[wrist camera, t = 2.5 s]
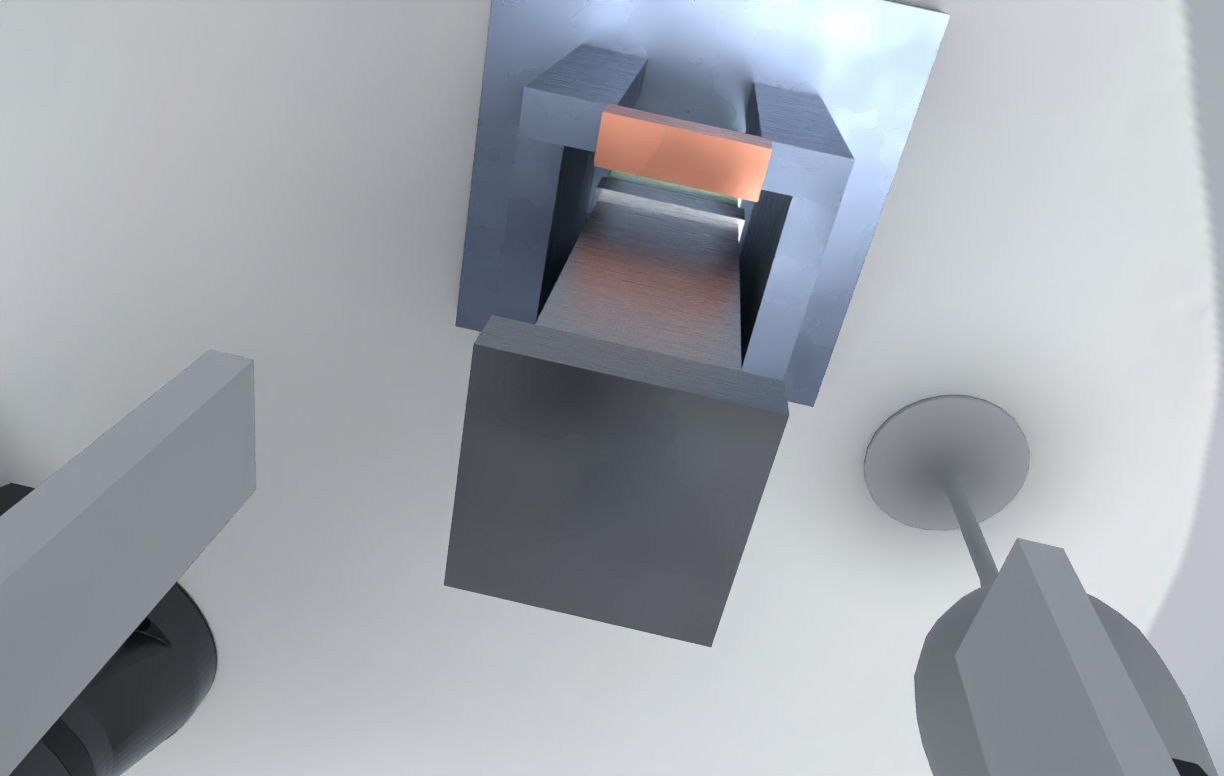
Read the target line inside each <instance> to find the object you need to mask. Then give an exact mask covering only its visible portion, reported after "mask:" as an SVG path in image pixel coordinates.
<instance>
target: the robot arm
mask: <svg viewBox="0 0 1224 776" xmlns="http://www.w3.org/2000/svg"><path fill="white" fill-rule="evenodd" d="M255 490H256V469H255V411H254V360H252V359H248V358H244V357H240V356H235V355H231V354H227V353H222V352H218V351H214V350H209V351H208V352H207V353H205V354H204V355H203V356H202V357H200V358H199V359H198V360H197V361H195V362H194V363H193V364H191V365H190V366H189V367H188V368H186V369H185V370H184V371H183V372H181V373H180V374H179V375H178V376H176V377H175V378H174V379H173V380H171V381H170V382H169V383H168V384H166V385H165V386H164V387H163V388H161V389H160V390H159V391H158V392H156V393H155V394H154V395H152V396H151V397H150V398H149V399H147V400H146V401H145V402H144V403H142V404H141V405H140V406H139V407H137V408H136V409H135V410H134V411H132V412H131V413H130V414H129V415H127V416H126V417H125V418H124V419H122V420H121V421H120V422H119V423H117V424H116V425H115V426H113V427H112V428H111V429H110V430H108V431H107V432H106V433H105V434H103V435H102V436H101V437H100V438H98V439H97V440H96V441H95V442H93V443H92V444H91V445H90V446H88V447H87V448H86V449H85V450H83V451H82V452H81V453H80V454H78V455H77V456H76V457H74V458H73V459H72V460H71V461H69V462H68V463H67V464H66V465H64V466H63V467H62V468H61V469H59V470H58V471H57V472H56V473H54V474H53V475H52V476H51V477H49V478H48V479H47V480H46V481H44V482H43V483H42V484H41V485H39V486H38V487H37V488H31V487H26V486H22V485H18V484H14V483H10V484H8V485H5V486H3V487H0V776H119V775H121V774H122V773H123V772H125V771H126V770H127V769H129V768H130V767H131V766H133V765H134V764H135V763H137V762H138V761H139V760H140V759H142V758H143V757H144V756H146V755H147V754H148V753H149V752H151V751H152V750H153V749H154V748H156V747H157V746H158V745H159V744H160V743H162V742H163V741H164V740H166V739H168V738H169V737H170V736H172V735H173V734H174V733H176V732H177V731H178V730H179V729H180V728H181V727H182V726H183V725H184V724H185V723H186V722H187V721H188V719H189V718H190V717H191V716H192V714H193V713H194V711H195V710H196V708H197V707H198V705H199V704H200V703H201V701H202V700H203V698H204V697H205V695H206V694H207V692H208V691H209V689H210V687H211V685H212V682H213V680H214V676H215V670H216V655H215V649H214V644H213V641H212V638H211V635H210V632H209V630H208V628H207V626H206V624H205V622H204V620H203V618H202V617H201V615H200V614H199V612H198V610H197V609H196V608H195V606H194V605H193V604H192V602H191V601H190V600H189V599H188V597H187V596H186V595H185V594H184V593H183V592H182V591H181V590H180V589H179V588H178V587H177V586H176V585H175V583H176V582H177V580H178V579H179V578H180V577H181V576H182V575H183V574H184V572H185V571H186V570H187V569H188V568H189V567H190V565H191V564H192V563H193V562H194V561H195V560H196V558H197V557H198V556H199V555H200V554H201V553H202V552H203V550H204V549H205V548H206V547H207V546H208V545H209V543H210V542H211V541H212V540H213V539H214V538H215V536H216V535H217V534H218V533H219V532H220V531H221V530H222V528H223V527H224V526H225V525H226V524H227V523H228V521H229V520H230V519H231V518H232V517H233V516H234V514H235V513H236V512H237V511H238V510H239V509H240V508H241V506H242V505H243V504H244V503H245V502H246V501H247V499H248V498H249V497H250V496H251V495H252V494H253V492H254V491H255ZM955 658H956V662H957V665H958V669H959V672H960V675H961V679H962V682H963V686H964V689H965V693H966V696H967V699H968V703H969V706H970V710H971V713H972V717H973V720H974V723H975V727H976V730H977V734H978V737H979V741H980V744H981V747H982V751H983V754H984V758H985V761H986V765H987V768H988V771H989V775H990V776H1208V775H1207V774H1206V773H1205V771H1204V770H1203V769H1202V768H1201V767H1200V766H1199V765H1198V764H1196V763H1191V762H1187V761H1183V760H1179V759H1175V758H1171V757H1170V755H1169V753H1168V751H1167V749H1166V747H1165V745H1164V743H1163V741H1162V739H1161V737H1160V735H1159V733H1158V731H1157V730H1156V728H1155V726H1154V724H1153V722H1152V720H1151V718H1150V716H1149V714H1148V712H1147V710H1146V708H1145V706H1144V704H1143V702H1142V700H1141V699H1140V697H1139V695H1138V693H1137V691H1136V689H1135V687H1134V685H1133V683H1132V681H1131V679H1130V677H1129V675H1128V673H1127V671H1126V669H1125V668H1124V666H1123V664H1122V662H1121V660H1120V658H1119V656H1118V654H1117V652H1116V650H1115V648H1114V646H1113V644H1112V642H1111V640H1110V638H1109V637H1108V635H1107V633H1106V631H1105V629H1104V627H1103V625H1102V623H1101V621H1100V619H1099V617H1098V615H1097V613H1096V611H1095V609H1094V607H1093V606H1092V604H1091V602H1090V600H1089V598H1088V596H1087V594H1086V592H1085V590H1084V588H1083V586H1082V584H1081V582H1080V580H1079V578H1078V576H1077V575H1076V573H1075V571H1074V569H1073V567H1072V565H1071V563H1070V561H1069V559H1068V557H1067V555H1066V553H1065V551H1064V549H1063V548H1059V547H1054V546H1050V545H1046V544H1041V543H1037V542H1033V541H1029V540H1024V539H1020V538H1017V540H1016V541H1015V543H1014V545H1013V547H1012V549H1011V551H1010V553H1009V555H1008V556H1007V558H1006V560H1005V562H1004V564H1003V566H1002V568H1001V570H1000V571H999V573H998V575H997V577H996V579H995V581H994V583H993V585H992V587H991V588H990V590H989V592H988V594H987V596H986V598H985V600H984V602H983V603H982V605H981V607H980V609H979V611H978V613H977V615H976V617H975V618H974V620H973V622H972V624H971V626H970V628H969V630H968V632H967V633H966V635H965V637H964V639H963V641H962V643H961V645H960V647H959V648H958V650H957V652H956V654H955Z"/></svg>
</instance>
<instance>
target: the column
mask: <svg viewBox="0 0 1224 776" xmlns="http://www.w3.org/2000/svg"><path fill="white" fill-rule="evenodd" d="M741 200H742V199H741V198H736V197H732V196H727V195H723V194H718V193H714V192H709V191H705V190H700V189H696V188H691V187H687V186H682V185H678V184H673V183H669V182H664V181H660V180H655V179H651V178H646V177H642V176H637V175H633V174H628V173H624V172H619V171H615V170H610V169H608V174H607V178H606V177H602V178H601V180H600V182H599V184H598V185H597V188H596V193H595V199H594V204H593V210H592V212H591V214H590V216H589V218H588V220H587V222H586V224H585V226H584V228H583V230H582V232H581V234H580V236H579V238H578V240H577V242H576V244H575V246H574V248H573V250H572V252H571V254H570V256H569V258H568V260H567V262H566V264H565V266H564V268H563V270H562V272H561V274H560V276H559V278H558V280H557V282H556V284H555V286H554V288H553V290H552V292H551V294H550V296H549V298H548V300H547V302H546V304H545V306H544V308H543V310H542V312H541V314H540V316H539V318H538V320H537V322H536V324H535V325H534V324H530V323H526V322H521V321H517V320H512V319H508V318H503V317H499V316H495V315H492V316H491V317H490V319H489V320H488V322H487V324H486V325H485V327H484V328H483V330H482V332H481V333H480V335H479V336H478V338H477V340H476V341H475V343H474V346H473V355H472V363H471V371H470V379H469V387H468V395H467V403H466V411H465V419H464V427H463V435H462V443H461V451H460V459H459V467H458V476H457V484H456V492H455V500H454V508H453V516H452V524H451V532H450V540H449V548H448V556H447V564H446V572H445V580H444V585H446V586H450V587H454V588H458V589H463V590H467V591H471V592H476V593H480V594H484V595H489V596H493V597H497V598H502V599H506V600H510V601H514V602H519V603H523V604H527V605H532V606H536V607H540V608H545V609H549V610H553V611H557V612H562V613H566V614H570V615H575V616H579V617H583V618H588V619H592V620H596V621H601V622H605V623H609V624H613V625H618V626H622V627H626V628H631V629H635V630H639V631H644V632H648V633H652V634H657V635H661V636H665V637H669V638H674V639H678V640H682V641H687V642H691V643H695V644H700V645H704V646H708V647H711V646H712V643H713V640H714V637H715V634H716V631H717V628H718V625H719V622H720V619H721V616H722V613H723V610H724V607H725V604H726V601H727V598H728V595H729V592H730V589H731V586H732V583H733V580H734V577H735V574H736V572H737V569H738V566H739V563H740V560H741V557H742V554H743V551H744V548H745V545H746V542H747V539H748V536H749V533H750V530H751V527H752V524H753V521H754V518H755V515H756V512H757V509H758V506H759V503H760V500H761V497H762V494H763V491H764V488H765V485H766V482H767V479H768V476H769V473H770V470H771V467H772V464H773V461H774V458H775V456H776V453H777V450H778V447H779V444H780V441H781V438H782V435H783V432H784V429H785V426H786V423H787V420H788V417H789V411H788V402H787V394H786V385H785V381H782V380H778V379H773V378H769V377H764V376H760V375H756V374H751V373H747V372H742V371H741V327H740V279H739V240H740V236H741V233H742V229H743V225H744V222H745V211H744V208H741V207H740V204H741Z"/></svg>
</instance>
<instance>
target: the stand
mask: <svg viewBox="0 0 1224 776" xmlns="http://www.w3.org/2000/svg"><path fill="white" fill-rule="evenodd" d="M949 18H950V15H949V14H946V13H944V12H941V11H936V10H931V9H927V8H922V7H918V6H913V5H908V4H904V3H899V2H895V1H890V0H492V2H491V11H490V20H489V29H488V38H487V47H486V56H485V65H484V74H483V83H482V92H481V101H480V110H479V119H478V128H477V137H476V146H475V155H474V164H473V173H472V182H471V191H470V200H469V209H468V218H467V227H466V236H465V245H464V254H463V263H462V272H461V281H460V290H459V299H458V308H457V317H456V326H458V327H463V328H467V329H471V330H476V331H480V332H482V330H483V328H484V327H485V325H486V324H487V322H488V320H489V319H490V317H491V316H492V315H495V316H499V317H503V318H508V319H512V320H517V321H521V322H526V323H530V324H534V325H535V324H536V322H537V320H538V318H539V316H540V314H541V312H542V310H543V308H544V306H545V304H546V302H547V300H548V298H549V296H550V294H551V292H552V290H553V288H554V286H555V284H556V282H557V280H558V278H559V276H560V274H561V272H562V270H563V268H564V266H565V264H566V262H567V260H568V258H569V256H570V254H571V252H572V250H573V248H574V246H575V244H576V242H577V240H578V238H579V236H580V234H581V232H582V230H583V228H584V226H585V224H586V222H587V220H588V218H589V216H590V214H591V212H592V210H593V204H594V199H595V193H596V188H597V185H598V184H599V182H600V180H601V178H602V177H606V178H607V174H608V169H610V170H615V171H619V172H624V173H628V174H633V175H637V176H642V177H646V178H651V179H655V180H660V181H664V182H669V183H673V184H678V185H682V186H687V187H691V188H696V189H700V190H705V191H709V192H714V193H718V194H723V195H727V196H732V197H736V198H741V199H742V200H741V204H740V207H741V208H744V211H745V222H744V225H743V229H742V233H741V236H740V240H739V279H740V327H741V371H742V372H747V373H751V374H756V375H760V376H764V377H769V378H773V379H778V380H782V381H785V385H786V394H787V401H789V402H794V403H798V404H803V405H807V406H811V407H813V406H814V403H815V400H816V397H817V395H818V392H819V389H820V386H821V383H822V380H823V377H824V375H825V372H826V369H827V366H828V363H829V360H830V358H831V355H832V352H833V349H834V346H835V343H836V340H837V338H838V335H839V332H840V329H841V326H842V323H843V320H844V318H845V315H846V312H847V309H848V306H849V303H850V300H851V298H852V295H853V292H854V289H855V286H856V283H857V280H858V278H859V275H860V272H861V269H862V266H863V263H864V260H865V258H866V255H867V252H868V249H869V246H870V243H871V240H872V238H873V235H874V232H875V229H876V226H877V223H878V220H879V218H880V215H881V212H882V209H883V206H884V203H885V200H886V198H887V195H888V192H889V189H890V186H891V183H892V180H893V178H894V175H895V172H896V169H897V166H898V163H899V160H900V158H901V155H902V152H903V149H904V146H905V143H906V140H907V138H908V135H909V132H910V129H911V126H912V123H913V120H914V118H915V115H916V112H917V109H918V106H919V103H920V100H921V98H922V95H923V92H924V89H925V86H926V83H927V80H928V78H929V75H930V72H931V69H932V66H933V63H934V60H935V58H936V55H937V52H938V49H939V46H940V43H941V40H942V38H943V35H944V32H945V29H946V26H947V23H948V20H949Z"/></svg>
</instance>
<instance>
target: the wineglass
mask: <svg viewBox="0 0 1224 776" xmlns="http://www.w3.org/2000/svg"><path fill="white" fill-rule="evenodd" d="M1028 469H1029V449H1028V445H1027V441H1026V438H1025V435H1024V434H1023V432H1022V431H1021V429H1020V428H1019V426H1018V424H1017V423H1016V421H1015V420H1014V419H1013V418H1012V417H1011V416H1010V415H1008V414H1007V413H1006V412H1005V411H1004V410H1002V409H1001V408H1000V407H997V406H995V405H993V404H991V403H989V402H987V401H985V400H982V399H977V398H973V397H968V396H939V397H934V398H929V399H924V400H921V401H919V402H917V403H914V404H912V405H909V406H907V407H905V408H903V409H902V410H900V411H899V412H897V413H896V414H894V415H893V416H891V417H890V418H889V419H888V420H887V421H886V422H885V423H884V424H883V425H882V426H881V427H880V428H879V429H878V430H877V432H876V433H875V435H874V437H873V439H872V440H871V442H870V444H869V446H868V448H867V453H866V457H865V461H864V470H865V480H866V483H867V486H868V489H869V492H870V494H871V496H872V498H873V499H874V500H875V502H876V503H877V504H878V506H879V507H880V508H881V509H882V510H883V511H885V512H886V513H887V514H888V515H890V516H891V517H892V518H893V519H895V520H898V521H900V522H902V523H904V524H906V525H908V526H912V527H916V528H921V529H925V530H952V529H959V528H960V529H961V531H962V534H963V536H964V539H965V542H966V544H967V547H968V549H969V552H970V555H971V557H972V560H973V563H974V565H975V568H976V570H977V573H978V576H979V578H980V583H981V588H978V589H976V590H974V591H973V592H971V593H969V594H967V595H965V596H964V597H962V598H961V599H960V600H959V601H958V602H956V603H955V604H954V605H953V606H952V607H951V608H950V609H949V610H947V611H946V612H945V613H944V614H943V615H942V616H941V617H940V618H939V619H938V620H937V621H936V623H935V624H934V626H933V627H932V629H931V630H930V632H929V633H928V635H927V636H926V638H925V642H924V645H923V648H922V651H921V654H920V658H919V661H918V665H917V668H916V672H915V675H914V682H915V702H916V714H917V722H918V726H919V731H920V735H921V740H922V744H923V748H924V750H925V753H926V756H927V759H928V762H929V765H930V767H931V770H932V773H933V776H990V775H989V771H988V768H987V765H986V761H985V758H984V754H983V751H982V747H981V744H980V741H979V737H978V734H977V730H976V727H975V723H974V720H973V717H972V713H971V710H970V706H969V703H968V699H967V696H966V693H965V689H964V686H963V682H962V679H961V675H960V672H959V669H958V665H957V662H956V658H955V654H956V652H957V650H958V648H959V647H960V645H961V643H962V641H963V639H964V637H965V635H966V633H967V632H968V630H969V628H970V626H971V624H972V622H973V620H974V618H975V617H976V615H977V613H978V611H979V609H980V607H981V605H982V603H983V602H984V600H985V598H986V596H987V594H988V592H989V590H990V588H991V587H992V585H993V583H994V581H995V579H996V577H997V575H998V570H997V568H996V565H995V563H994V561H993V558H992V556H991V553H990V551H989V548H988V546H987V544H986V541H985V539H984V536H983V534H982V532H981V529H980V527H979V524H978V523H979V522H982V521H984V520H986V519H988V518H989V517H991V516H993V515H994V514H996V513H998V512H999V511H1001V510H1002V509H1003V508H1004V507H1005V506H1006V505H1007V504H1008V503H1009V502H1010V501H1012V500H1013V499H1014V497H1015V496H1016V494H1017V493H1018V491H1019V490H1020V488H1021V487H1022V485H1023V483H1024V481H1025V478H1026V475H1027V472H1028ZM1086 594H1087V593H1086ZM1087 596H1088V598H1089V600H1090V602H1091V604H1092V606H1093V607H1094V609H1095V611H1096V613H1097V615H1098V617H1099V619H1100V621H1101V623H1102V625H1103V627H1104V629H1105V631H1106V633H1107V635H1108V637H1109V638H1110V640H1111V642H1112V644H1113V646H1114V648H1115V650H1116V652H1117V654H1118V656H1119V658H1120V660H1121V662H1122V664H1123V666H1124V668H1125V669H1126V671H1127V673H1128V675H1129V677H1130V679H1131V681H1132V683H1133V685H1134V687H1135V689H1136V691H1137V693H1138V695H1139V697H1140V699H1141V700H1142V702H1143V704H1144V706H1145V708H1146V710H1147V712H1148V714H1149V716H1150V718H1151V720H1152V722H1153V724H1154V726H1155V728H1156V730H1157V731H1158V733H1159V735H1160V737H1161V739H1162V741H1163V743H1164V745H1165V747H1166V749H1167V751H1168V753H1169V755H1170V757H1171V758H1175V759H1179V760H1183V761H1187V762H1191V763H1196V764H1198V765H1199V766H1200V767H1201V768H1202V769H1203V770H1204V771H1205V773H1206V774H1207V775H1208V776H1218V774H1217V772H1216V769H1215V767H1214V764H1213V762H1212V759H1211V757H1210V754H1209V752H1208V749H1207V747H1206V744H1205V742H1204V740H1203V737H1202V735H1201V733H1200V730H1199V728H1198V725H1197V723H1196V721H1195V719H1194V716H1193V714H1192V712H1191V710H1190V707H1189V706H1188V703H1187V701H1186V699H1185V697H1184V695H1183V693H1182V691H1181V690H1180V688H1179V687H1178V685H1177V683H1176V682H1175V680H1174V678H1173V677H1172V675H1171V673H1170V672H1169V670H1168V668H1167V667H1166V665H1165V664H1164V662H1163V661H1162V659H1161V658H1160V656H1159V655H1158V653H1157V652H1156V650H1155V649H1154V648H1153V646H1152V645H1151V644H1150V643H1149V641H1148V640H1147V639H1146V638H1145V636H1144V635H1143V634H1142V633H1141V631H1140V630H1139V629H1138V628H1137V627H1136V626H1135V625H1133V624H1132V623H1131V622H1130V621H1128V620H1127V619H1126V618H1125V617H1124V616H1122V615H1121V614H1120V613H1119V612H1117V611H1116V610H1114V609H1112V608H1111V607H1109V606H1108V605H1106V604H1105V603H1103V602H1102V601H1100V600H1099V599H1097V598H1095V597H1093V596H1091V595H1089V594H1087Z"/></svg>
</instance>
